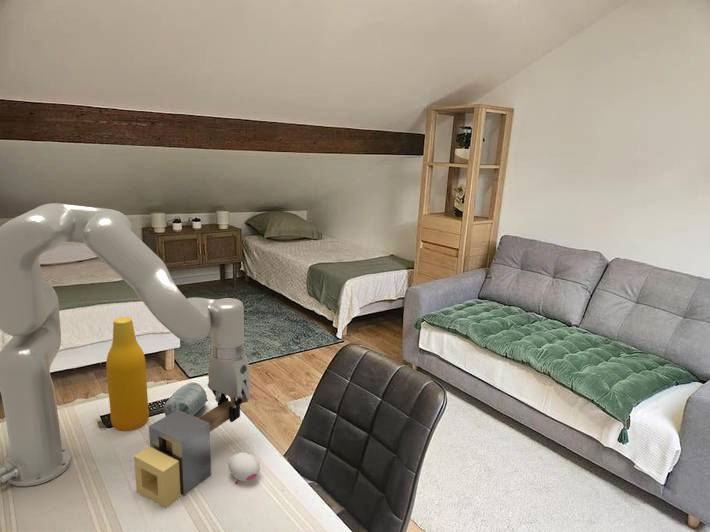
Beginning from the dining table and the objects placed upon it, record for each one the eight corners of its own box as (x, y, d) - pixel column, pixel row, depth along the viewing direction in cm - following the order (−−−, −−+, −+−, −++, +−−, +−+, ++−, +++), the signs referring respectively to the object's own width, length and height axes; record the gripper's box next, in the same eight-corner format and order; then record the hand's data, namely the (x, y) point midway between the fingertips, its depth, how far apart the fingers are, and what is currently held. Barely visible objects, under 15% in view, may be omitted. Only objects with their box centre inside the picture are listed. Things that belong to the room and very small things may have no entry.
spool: (190, 424, 125) (178, 386, 126) (160, 433, 127) (150, 396, 129) (220, 409, 138) (209, 375, 139) (193, 418, 140) (183, 385, 142)
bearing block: (184, 496, 105) (181, 441, 102) (152, 478, 110) (148, 426, 106) (211, 474, 112) (209, 423, 108) (180, 459, 116) (177, 409, 113)
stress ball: (261, 490, 112) (273, 461, 114) (242, 491, 106) (255, 460, 107) (237, 477, 116) (248, 449, 118) (216, 476, 109) (229, 447, 111)
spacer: (165, 508, 101) (163, 471, 99) (136, 491, 106) (133, 456, 103) (180, 496, 105) (178, 461, 102) (152, 481, 109) (149, 446, 107)
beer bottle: (154, 412, 135) (148, 313, 127) (142, 431, 126) (134, 327, 119) (119, 411, 134) (111, 313, 127) (105, 431, 125) (95, 326, 118)
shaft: (176, 454, 106) (175, 442, 105) (166, 450, 107) (165, 438, 106) (236, 414, 122) (236, 403, 121) (227, 410, 123) (227, 400, 123)
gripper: (264, 352, 117) (264, 420, 122) (214, 336, 124) (215, 400, 129) (243, 364, 110) (244, 435, 115) (191, 346, 118) (193, 413, 123)
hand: (229, 416), depth 122 cm, fingers closed on shaft, 3 cm apart
